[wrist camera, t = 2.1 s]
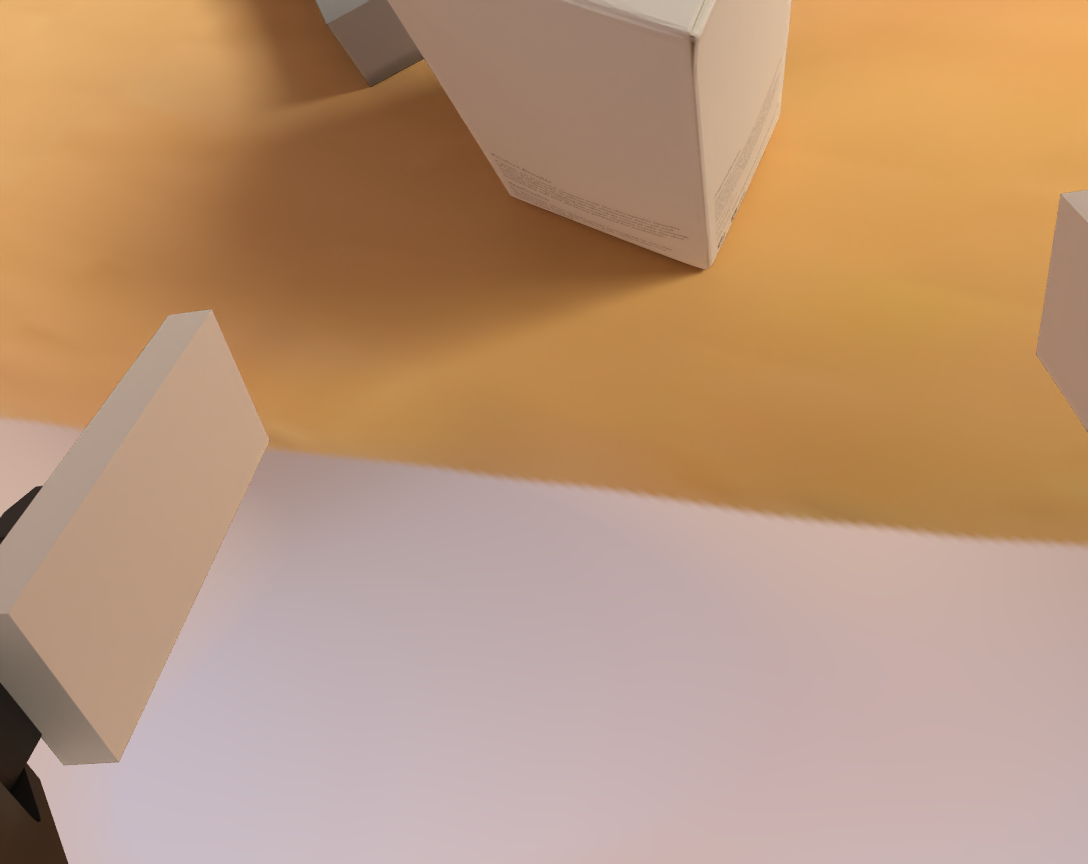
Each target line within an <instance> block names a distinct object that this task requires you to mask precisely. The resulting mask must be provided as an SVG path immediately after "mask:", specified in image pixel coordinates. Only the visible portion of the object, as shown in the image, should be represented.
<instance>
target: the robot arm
mask: <svg viewBox="0 0 1088 864" xmlns="http://www.w3.org/2000/svg"><path fill="white" fill-rule="evenodd" d="M1036 355H1037V357H1038V358H1039V360H1040V361H1041V363H1042V364H1043V366H1044V367H1045V369H1046V370H1047V372H1048V373H1049V375H1050V376H1051V378H1052V379H1053V381H1054V382H1055V384H1056V385H1057V387H1058V388H1059V390H1060V391H1061V393H1062V394H1063V396H1064V397H1065V399H1066V400H1067V402H1068V403H1069V405H1070V406H1071V408H1072V409H1073V411H1074V412H1075V414H1076V415H1077V417H1078V418H1079V420H1080V421H1081V423H1082V424H1083V426H1084V427H1085V429H1086V430H1087V432H1088V190H1084V191H1076V192H1069V193H1062V194H1060V201H1059V208H1058V214H1057V221H1056V227H1055V234H1054V240H1053V247H1052V253H1051V260H1050V267H1049V273H1048V280H1047V286H1046V293H1045V299H1044V306H1043V312H1042V319H1041V325H1040V332H1039V339H1038V345H1037V352H1036ZM269 441H270V440H269V438H268V436H267V434H266V431H265V429H264V427H263V424H262V422H261V420H260V418H259V415H258V413H257V411H256V408H255V406H254V404H253V402H252V399H251V397H250V395H249V393H248V390H247V388H246V386H245V383H244V381H243V379H242V377H241V374H240V372H239V370H238V368H237V365H236V363H235V361H234V358H233V356H232V354H231V352H230V349H229V347H228V345H227V342H226V340H225V338H224V336H223V333H222V331H221V329H220V327H219V324H218V322H217V320H216V317H215V315H214V313H213V311H212V309H209V310H202V311H195V312H187V313H180V314H173V315H169V316H168V317H167V318H166V320H165V321H164V322H163V324H162V325H161V326H160V328H159V329H158V331H157V332H156V333H155V335H154V336H153V337H152V339H151V340H150V341H149V343H148V344H147V345H146V347H145V348H144V350H143V351H142V352H141V354H140V355H139V356H138V358H137V359H136V360H135V362H134V363H133V365H132V366H131V367H130V369H129V370H128V371H127V373H126V374H125V375H124V377H123V378H122V379H121V381H120V382H119V384H118V385H117V386H116V388H115V389H114V390H113V392H112V393H111V394H110V396H109V397H108V399H107V400H106V401H105V403H104V404H103V405H102V407H101V408H100V409H99V411H98V412H97V414H96V415H95V416H94V418H93V419H92V420H91V422H90V423H89V424H88V426H87V427H86V428H85V430H84V431H83V433H82V434H81V435H80V437H79V438H78V439H77V441H76V442H75V443H74V445H73V446H72V448H71V449H70V450H69V452H68V453H67V454H66V456H65V457H64V458H63V460H62V461H61V463H60V464H59V465H58V467H57V468H56V469H55V471H54V472H53V474H52V475H51V476H50V477H49V479H48V480H47V482H46V483H45V484H44V486H38V487H35V488H34V489H32V490H31V491H30V492H29V493H27V494H26V495H25V496H24V497H23V498H21V499H20V500H19V501H18V502H16V503H15V504H14V505H13V506H12V507H10V508H9V509H8V510H7V511H5V512H4V514H3V515H2V516H1V518H0V864H68V861H67V858H66V856H65V853H64V850H63V847H62V844H61V841H60V838H59V835H58V832H57V829H56V826H55V823H54V820H53V817H52V814H51V811H50V808H49V805H48V802H47V800H46V796H45V793H44V790H43V787H42V785H41V781H40V779H39V778H38V777H37V776H36V774H35V773H34V771H33V770H32V769H31V768H30V767H29V765H28V764H27V761H28V759H29V758H30V756H31V754H32V752H33V751H34V748H35V747H36V745H37V743H38V741H39V740H40V738H42V739H43V740H44V741H45V743H46V744H47V745H48V746H49V748H50V749H51V750H52V751H53V753H54V754H55V755H56V756H57V758H58V759H59V760H60V761H61V762H62V764H63V765H78V764H95V763H111V762H119V761H120V759H121V756H122V754H123V752H124V750H125V748H126V746H127V744H128V741H129V739H130V737H131V735H132V733H133V731H134V729H135V726H136V725H137V722H138V720H139V718H140V716H141V714H142V712H143V710H144V708H145V705H146V703H147V701H148V699H149V697H150V695H151V693H152V691H153V688H154V686H155V683H156V681H157V680H158V678H159V675H160V673H161V671H162V669H163V667H164V665H165V663H166V661H167V659H168V656H169V654H170V652H171V650H172V648H173V646H174V644H175V641H176V639H177V637H178V635H179V633H180V631H181V628H182V627H183V624H184V622H185V620H186V618H187V616H188V614H189V612H190V609H191V607H192V605H193V603H194V601H195V599H196V597H197V595H198V592H199V590H200V588H201V586H202V584H203V582H204V580H205V578H206V575H207V573H208V571H209V569H210V567H211V564H212V562H213V560H214V558H215V556H216V554H217V552H218V550H219V548H220V546H221V543H222V541H223V539H224V537H225V535H226V533H227V531H228V528H229V526H230V524H231V522H232V520H233V518H234V516H235V513H236V511H237V509H238V507H239V505H240V503H241V501H242V499H243V496H244V494H245V492H246V490H247V488H248V486H249V484H250V482H251V479H252V477H253V475H254V473H255V471H256V469H257V467H258V464H259V462H260V460H261V458H262V456H263V454H264V452H265V450H266V447H267V445H268V443H269Z"/></svg>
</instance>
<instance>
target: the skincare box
mask: <svg viewBox="0 0 1088 864" xmlns="http://www.w3.org/2000/svg"><path fill="white" fill-rule="evenodd" d="M387 1H388V2H389V4H390V5H391V7H392V9H393V10H394V12H395V13H396V15H397V17H398V18H399V20H400V21H401V23H402V24H403V26H404V28H405V29H406V31H407V32H408V34H409V35H410V37H411V39H412V40H413V42H414V43H415V45H416V46H417V48H418V50H419V51H420V53H421V55H422V56H423V58H424V59H425V61H426V62H427V64H428V66H429V67H430V69H431V70H432V72H433V73H434V75H435V77H436V78H437V80H438V81H439V83H440V84H441V86H442V88H443V89H444V91H445V92H446V94H447V96H448V97H449V99H450V100H451V102H452V104H453V105H454V107H455V108H456V110H457V112H458V113H459V115H460V116H461V118H462V120H463V121H464V123H465V124H466V126H467V127H468V129H469V131H470V132H471V134H472V135H473V137H474V138H475V140H476V142H477V143H478V145H479V146H480V148H481V150H482V151H483V153H484V155H485V156H486V158H487V159H488V161H489V162H490V164H491V165H492V167H493V169H494V170H495V172H496V174H497V175H498V177H499V178H500V180H501V182H502V183H503V185H504V186H505V188H506V190H507V192H508V194H509V195H511V196H512V197H515V198H517V199H520V200H522V201H524V202H527V203H530V204H532V205H535V206H537V207H540V208H543V209H545V210H548V211H550V212H553V213H555V214H558V215H561V216H563V217H566V218H568V219H571V220H573V221H576V222H579V223H581V224H584V225H586V226H589V227H591V228H594V229H597V230H599V231H602V232H604V233H607V234H610V235H612V236H615V237H617V238H620V239H622V240H625V241H628V242H630V243H633V244H636V245H638V246H641V247H643V248H646V249H649V250H651V251H654V252H656V253H659V254H662V255H664V256H667V257H670V258H672V259H675V260H678V261H681V262H684V263H686V264H689V265H692V266H695V267H698V268H701V269H704V270H705V269H708V268H710V267H711V266H712V264H713V262H714V260H715V258H716V256H717V254H718V252H719V250H720V248H721V246H722V243H723V241H724V239H725V237H726V235H727V233H728V231H729V228H730V226H731V224H732V222H733V220H734V218H735V216H736V214H737V211H738V209H739V207H740V205H741V202H742V200H743V198H744V196H745V194H746V191H747V189H748V187H749V185H750V182H751V180H752V178H753V176H754V174H755V171H756V169H757V167H758V165H759V162H760V160H761V158H762V156H763V153H764V151H765V149H766V147H767V144H768V142H769V140H770V137H771V135H772V133H773V131H774V128H775V126H776V124H777V122H778V119H779V117H780V110H781V100H782V89H783V81H784V70H785V61H786V51H787V42H788V33H789V24H790V14H791V4H792V0H387Z"/></svg>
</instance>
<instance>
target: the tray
mask: <svg viewBox="0 0 1088 864" xmlns="http://www.w3.org/2000/svg"><path fill="white" fill-rule="evenodd" d="M315 1H316V3H317V5H318V7H319V9H320V11H321V14H322V16H323V18H324V20H325V22H326V24H327V26H328V27H329V29H330V30H331V32H332V33H333V34H334V36H335V37H336V39H337V40H338V41H339V43H340V44H341V46H342V47H343V49H344V50H345V51H346V53H347V54H348V56H349V57H350V59H351V60H352V61H353V63H354V64H355V66H356V67H357V68H358V70H359V71H360V73H361V74H362V76H363V77H364V78H365V80H366V81H367V83H368V84H369V86H370V87H371V86H373V85H375V84H377V83H379V82H380V81H382V80H384V79H386V78H388V77H390V76H392V75H393V74H395V73H397V72H399V71H401V70H403V69H405V68H407V67H408V66H410V65H412V64H414V63H416V62H418V61H420V60H422V59H423V56H422V55H421V53H420V51H419V50H418V48H417V46H416V45H415V43H414V42H413V40H412V39H411V37H410V35H409V34H408V32H407V31H406V29H405V28H404V26H403V24H402V23H401V21H400V20H399V18H398V17H397V15H396V13H395V12H394V10H393V9H392V7H391V5H390V4H389V2H388V1H387V0H315Z"/></svg>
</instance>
